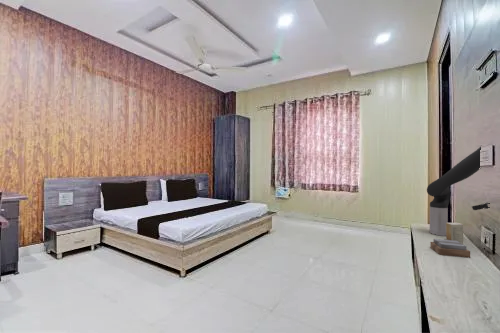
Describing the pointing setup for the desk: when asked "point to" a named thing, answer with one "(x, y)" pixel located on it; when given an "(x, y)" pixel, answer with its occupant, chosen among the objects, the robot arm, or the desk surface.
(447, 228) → the skincare box
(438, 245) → the metal plate on wood
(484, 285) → the desk surface
